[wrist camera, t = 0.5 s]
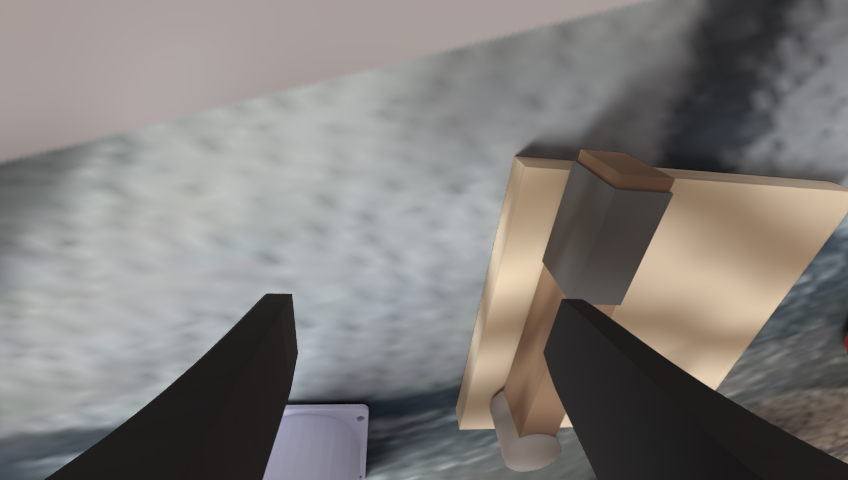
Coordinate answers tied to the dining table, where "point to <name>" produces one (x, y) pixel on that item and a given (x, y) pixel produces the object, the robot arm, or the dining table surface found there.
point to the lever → (577, 287)
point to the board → (658, 270)
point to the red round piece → (846, 342)
